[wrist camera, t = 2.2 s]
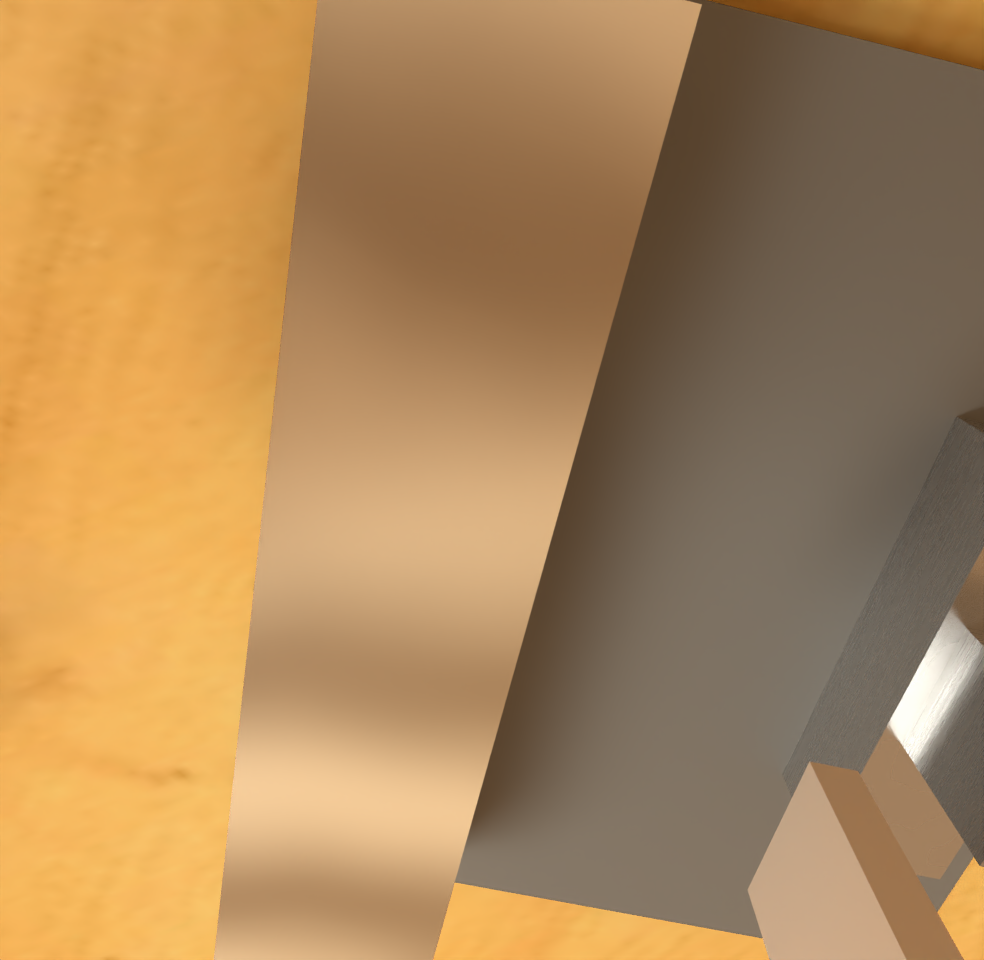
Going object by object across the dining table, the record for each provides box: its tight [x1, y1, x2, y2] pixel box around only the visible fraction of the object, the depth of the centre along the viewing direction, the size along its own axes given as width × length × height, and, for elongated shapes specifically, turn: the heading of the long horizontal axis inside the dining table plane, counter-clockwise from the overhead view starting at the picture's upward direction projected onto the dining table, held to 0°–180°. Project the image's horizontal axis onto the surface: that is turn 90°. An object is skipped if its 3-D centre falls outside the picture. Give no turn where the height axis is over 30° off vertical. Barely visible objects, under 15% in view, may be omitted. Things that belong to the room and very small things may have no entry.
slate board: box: [455, 0, 984, 938], centre depth 18 cm, size 22×19×1 cm
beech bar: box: [214, 0, 702, 960], centre depth 15 cm, size 20×4×5 cm, turn 168°
